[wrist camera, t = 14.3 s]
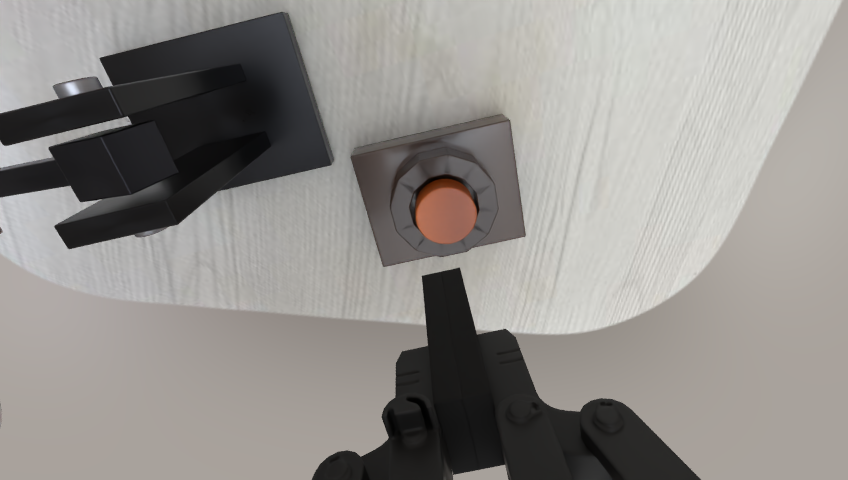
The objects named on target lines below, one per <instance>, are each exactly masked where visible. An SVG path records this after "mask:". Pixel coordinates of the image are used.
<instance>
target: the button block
mask: <svg viewBox="0 0 848 480" xmlns="http://www.w3.org/2000/svg"><path fill="white" fill-rule="evenodd" d="M351 160H352V163H353V167H354V170H355V174H356V177H357V180H358V184H359V187H360V190H361V194H362V197H363V200H364V204H365V207H366V210H367V214H368V217H369V221H370V224H371V227H372V231H373V234H374V237H375V241H376V244H377V247H378V251H379V254H380V258H381V261H382V264H383V266H384V267H385V266H390V265H395V264H399V263H404V262H409V261H413V260H418V259H423V258H427V257H432V256H439V257H444V256H449V255H453V254H458V253H463V252H467V251H469V250H470V249H471V248H474V247H479V246H483V245H488V244H492V243H497V242H502V241H506V240H511V239H516V238H520V237H525V235H526V234H525V227H524V220H523V212H522V205H521V197H520V190H519V183H518V175H517V168H516V160H515V153H514V146H513V138H512V131H511V124H510V120H509V119H508V118H507V117H505V116H504V115H503V114H500V115H496V116H492V117H487V118H483V119H479V120H474V121H470V122H466V123H462V124H457V125H453V126H449V127H444V128H440V129H436V130H431V131H427V132H423V133H418V134H414V135H410V136H405V137H401V138H397V139H392V140H388V141H384V142H379V143H375V144H371V145H366V146H362V147H358V148H355V149H354V151H353V153H352V155H351ZM438 179H452V180H455V181H458V182H460V183H461V184H463V185H464V186H465V187H466V188H467V189H468V190H469V192H470V194H471V196H472V198H473V201H474V203H475V206H476V209H477V219H476V223H475V226H474V228H473V229H472V231H471V232H470V233H469V234H468V235H467V236H466V237H465V238H463V239H462V240H460V241H458V242H455V243H451V244H439V243H436V242H433V241H431V240H429V239H427V238H426V237H425V236H424V235H423V234H422V233H421V232H420V230H419V228H418V226H417V223H416V216H415V202H416V198H417V196H418V194H419V192H420V191H421V190H422V189H423V187H424V186H426V185H427V184H429V183H430V182H432V181H435V180H438Z"/></svg>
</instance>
